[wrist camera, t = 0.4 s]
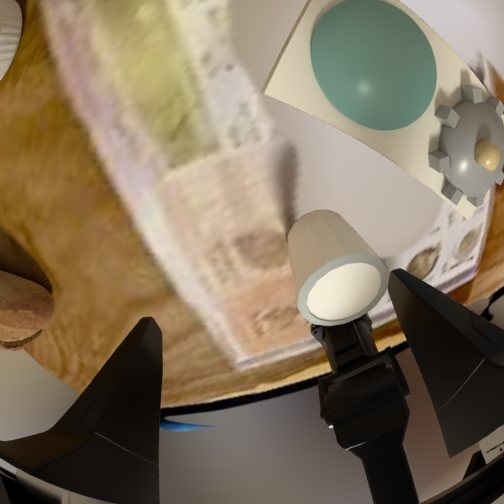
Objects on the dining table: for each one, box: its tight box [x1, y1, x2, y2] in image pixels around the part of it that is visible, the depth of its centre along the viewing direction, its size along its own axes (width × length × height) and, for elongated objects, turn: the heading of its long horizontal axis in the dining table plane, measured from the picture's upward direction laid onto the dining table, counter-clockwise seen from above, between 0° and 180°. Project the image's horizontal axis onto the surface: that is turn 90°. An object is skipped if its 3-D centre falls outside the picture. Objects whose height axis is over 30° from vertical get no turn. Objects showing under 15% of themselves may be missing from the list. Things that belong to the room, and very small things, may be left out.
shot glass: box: [287, 210, 389, 326], centre depth 21 cm, size 7×7×7 cm
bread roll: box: [0, 270, 54, 351], centre depth 20 cm, size 10×15×8 cm, turn 77°
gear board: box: [261, 0, 504, 220], centre depth 15 cm, size 24×12×4 cm, turn 67°
